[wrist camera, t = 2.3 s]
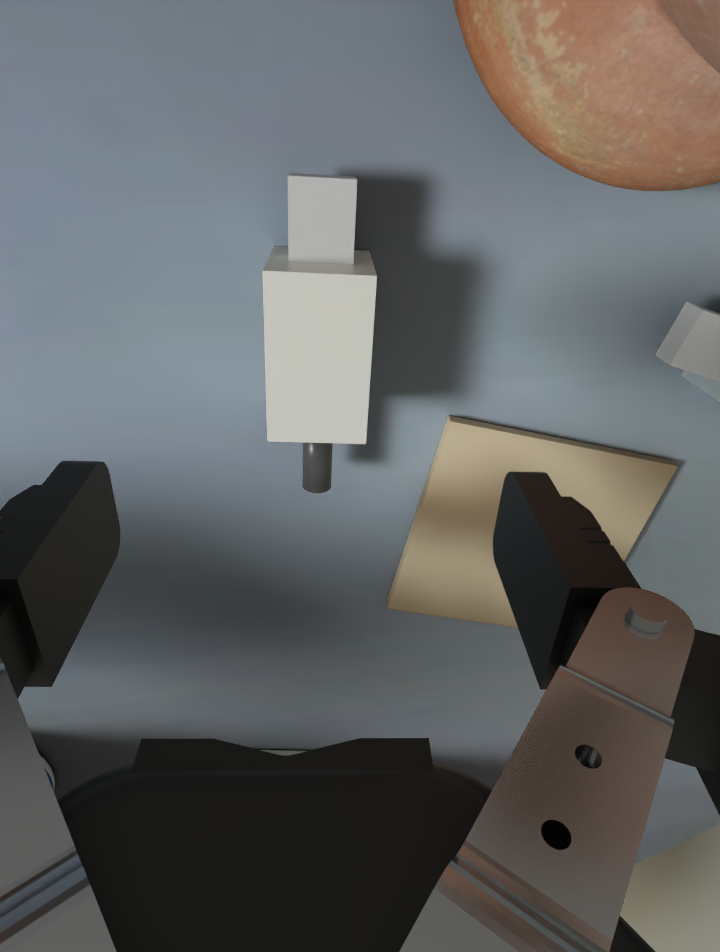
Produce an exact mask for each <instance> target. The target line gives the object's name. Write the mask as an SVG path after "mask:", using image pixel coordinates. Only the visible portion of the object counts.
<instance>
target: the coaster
mask: <svg viewBox="0 0 720 952" xmlns="http://www.w3.org/2000/svg"><path fill="white" fill-rule="evenodd" d="M677 467H678V466H677V465H676V464H675V463H674V462H673V461H672V460H669V459H664V458H659V457H654V456H649V455H644V454H639V453H634V452H629V451H624V450H619V449H614V448H609V447H604V446H599V445H594V444H589V443H584V442H579V441H574V440H569V439H564V438H559V437H554V436H549V435H544V434H539V433H534V432H529V431H524V430H518V429H513V428H508V427H503V426H498V425H493V424H488V423H483V422H478V421H473V420H468V419H463V418H458V417H453V416H448V418H447V421H446V424H445V427H444V430H443V433H442V436H441V439H440V442H439V445H438V448H437V451H436V454H435V457H434V460H433V463H432V466H431V469H430V472H429V475H428V478H427V481H426V484H425V487H424V490H423V493H422V496H421V499H420V502H419V505H418V508H417V511H416V514H415V517H414V520H413V523H412V526H411V529H410V532H409V535H408V538H407V541H406V544H405V547H404V550H403V553H402V556H401V559H400V562H399V565H398V568H397V571H396V574H395V577H394V580H393V583H392V586H391V589H390V592H389V595H388V598H387V608H388V609H393V610H400V611H407V612H414V613H421V614H427V615H434V616H441V617H448V618H455V619H462V620H468V621H475V622H482V623H489V624H496V625H503V626H510V627H516V628H518V626H517V623H516V620H515V618H514V615H513V612H512V609H511V606H510V604H509V601H508V598H507V595H506V593H505V590H504V587H503V584H502V581H501V579H500V576H499V573H498V570H497V568H496V565H495V561H494V556H493V534H494V528H495V523H496V518H497V513H498V508H499V503H500V498H501V493H502V488H503V483H504V479H505V476H506V474H507V473H508V472H510V471H511V472H545V473H547V474H548V475H549V477H550V479H551V480H552V482H553V484H554V485H555V487H556V489H557V490H558V492H559V494H560V495H561V496H566V497H573V498H574V499H575V500H577V501H578V502H579V503H581V504H582V505H583V506H585V507H586V508H587V509H589V510H590V511H591V512H592V514H593V515H594V517H595V518H596V520H597V521H598V523H599V524H600V526H601V528H602V531H604V532H605V534H606V535H607V537H608V538H609V540H610V541H611V542H610V544H611V545H613V546H614V547H615V549H616V551H617V552H618V554H619V555H620V557H621V558H622V560H623V561H624V560H625V559H626V557H627V555H628V553H629V552H630V550H631V548H632V546H633V545H634V543H635V541H636V539H637V538H638V536H639V534H640V532H641V531H642V529H643V527H644V525H645V524H646V522H647V520H648V518H649V516H650V515H651V513H652V511H653V509H654V508H655V506H656V504H657V502H658V501H659V499H660V497H661V495H662V494H663V492H664V490H665V488H666V487H667V485H668V483H669V481H670V480H671V478H672V476H673V474H674V473H675V471H676V469H677Z"/></svg>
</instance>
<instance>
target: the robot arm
mask: <svg viewBox="0 0 720 952" xmlns="http://www.w3.org/2000/svg"><path fill="white" fill-rule="evenodd" d="M610 542H611V541H610V540H609V538H608V537H607V535H606V534H605V532H604V531H602V528H601V526H600V524H599V523H598V521H597V520H596V518H595V517H594V515H593V514H592V512H591V511H590V510H589V509H587V508H586V507H585V506H583V505H582V504H581V503H579V502H578V501H577V500H575V499H574V498H573V497H566V496H561V495H560V494H559V492H558V490H557V489H556V487H555V485H554V484H553V482H552V480H551V479H550V477H549V475H548V474H547V473H545V472H511V471H510V472H508V473H507V474H506V476H505V479H504V483H503V488H502V493H501V498H500V503H499V508H498V513H497V518H496V523H495V528H494V534H493V556H494V561H495V565H496V568H497V570H498V573H499V576H500V579H501V581H502V584H503V587H504V590H505V593H506V595H507V598H508V601H509V604H510V606H511V609H512V612H513V615H514V618H515V620H516V623H517V626H518V629H519V631H520V634H521V637H522V640H523V643H524V645H525V648H526V651H527V654H528V656H529V659H530V662H531V665H532V668H533V670H534V673H535V676H536V679H537V681H538V684H539V687H540V689H547V690H546V692H545V693H544V695H543V697H542V699H541V701H540V703H539V705H538V706H537V708H536V710H535V712H534V714H533V716H532V718H531V719H530V721H529V723H528V725H527V727H526V729H525V731H524V732H523V734H522V736H521V738H520V740H519V742H518V743H517V745H516V747H515V749H514V751H513V753H512V755H511V756H510V758H509V760H508V762H507V764H506V766H505V768H504V769H503V771H502V773H501V775H500V777H499V779H498V781H497V782H496V784H495V786H494V788H493V790H492V789H491V788H490V787H488V786H486V785H485V784H483V783H482V782H480V781H479V780H477V779H476V778H474V777H472V776H470V775H468V774H466V773H464V772H462V771H460V770H457V769H455V768H452V767H449V766H447V765H444V764H441V763H437V762H433V761H432V757H431V750H430V744H429V738H359V739H355V740H351V741H347V742H343V743H339V744H335V745H331V746H326V747H322V748H318V749H314V750H310V751H306V752H302V753H298V754H294V755H278V754H274V753H269V752H265V751H261V750H257V749H253V748H249V747H245V746H241V745H237V744H233V743H229V742H224V741H220V740H216V739H141V743H140V746H139V749H138V752H137V755H136V759H135V762H134V763H133V764H129V765H125V766H122V767H119V768H117V769H114V770H111V771H108V772H106V773H103V774H101V775H99V776H97V777H95V778H93V779H90V780H88V781H86V782H85V783H83V784H81V785H80V786H78V787H76V788H74V789H73V790H71V791H69V792H68V793H66V794H65V795H64V796H62V797H61V798H59V799H58V800H57V799H56V797H55V794H54V791H53V789H52V786H51V784H50V781H49V779H48V776H47V774H46V771H45V768H44V766H43V763H42V761H41V758H40V756H39V753H38V750H37V748H36V745H35V743H34V740H33V738H32V735H31V732H30V730H29V727H28V725H27V722H26V720H25V717H24V715H23V712H22V709H21V707H20V704H19V702H18V697H19V696H20V694H21V692H22V690H23V688H24V687H52V685H53V683H54V681H55V679H56V677H57V675H58V673H59V671H60V669H61V667H62V665H63V663H64V661H65V659H66V657H67V655H68V653H69V651H70V649H71V647H72V645H73V643H74V641H75V639H76V637H77V635H78V633H79V631H80V629H81V627H82V625H83V623H84V621H85V619H86V617H87V615H88V613H89V611H90V609H91V607H92V605H93V603H94V601H95V599H96V597H97V595H98V593H99V591H100V589H101V587H102V585H103V583H104V581H105V579H106V577H107V575H108V573H109V571H110V569H111V567H112V565H113V563H114V561H115V559H116V557H117V554H118V550H119V545H120V525H119V520H118V515H117V510H116V505H115V500H114V494H113V489H112V484H111V479H110V474H109V470H108V468H107V466H106V464H105V463H104V462H97V461H62V462H60V463H59V464H58V466H57V467H56V468H55V469H54V471H53V472H52V473H51V474H50V476H49V477H48V478H47V479H46V481H45V482H44V483H43V484H42V485H33V486H31V487H29V488H28V489H26V490H24V491H23V492H21V493H20V494H18V495H16V496H15V497H13V498H11V499H10V500H9V501H8V502H7V503H6V504H5V506H4V507H3V508H2V509H1V510H0V952H655V951H654V950H653V949H652V948H651V947H650V946H649V945H648V944H647V943H646V942H645V941H644V940H643V939H642V938H641V937H640V936H639V935H638V934H637V932H636V931H635V930H634V929H633V928H632V927H630V925H629V924H627V922H626V921H625V920H624V919H623V918H622V917H621V916H620V912H621V909H622V905H623V902H624V898H625V895H626V891H627V887H628V884H629V881H630V877H631V874H632V870H633V867H634V863H635V860H636V856H637V853H638V849H639V846H640V842H641V839H642V835H643V832H644V828H645V825H646V821H647V818H648V814H649V811H650V807H651V804H652V800H653V797H654V793H655V790H656V786H657V783H658V779H659V776H660V772H661V769H662V765H663V762H664V758H666V759H669V760H673V761H676V762H680V763H683V764H687V765H690V766H693V767H696V768H697V770H698V772H699V774H700V776H701V778H702V781H703V783H704V785H705V787H706V789H707V791H708V793H709V795H710V797H711V799H712V801H713V803H714V805H715V807H716V809H717V811H718V813H719V815H720V635H716V634H711V633H707V632H703V631H700V630H696V629H694V626H693V624H692V621H691V620H690V618H689V617H688V615H687V614H686V613H685V612H684V611H683V610H682V609H681V608H680V607H678V606H677V605H676V604H674V603H673V602H672V601H670V600H668V599H667V598H665V597H663V596H661V595H658V594H656V593H653V592H651V591H648V590H644V589H641V587H640V586H639V584H638V583H637V581H636V580H635V578H634V577H633V575H632V573H631V572H630V570H629V569H628V567H627V566H626V564H625V563H624V561H623V560H622V558H621V557H620V555H619V554H618V552H617V551H616V549H615V547H614V546H613V545H611V544H610Z"/></svg>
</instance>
